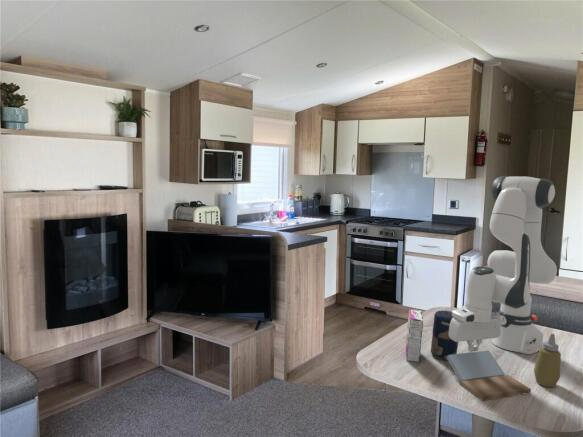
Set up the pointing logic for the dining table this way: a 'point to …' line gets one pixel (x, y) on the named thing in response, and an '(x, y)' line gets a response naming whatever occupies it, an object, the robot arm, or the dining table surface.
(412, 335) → the candy bar box
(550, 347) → the squeeze bottle
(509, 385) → the floorboard
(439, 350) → the canister
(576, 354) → the dining table surface
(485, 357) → the plank
